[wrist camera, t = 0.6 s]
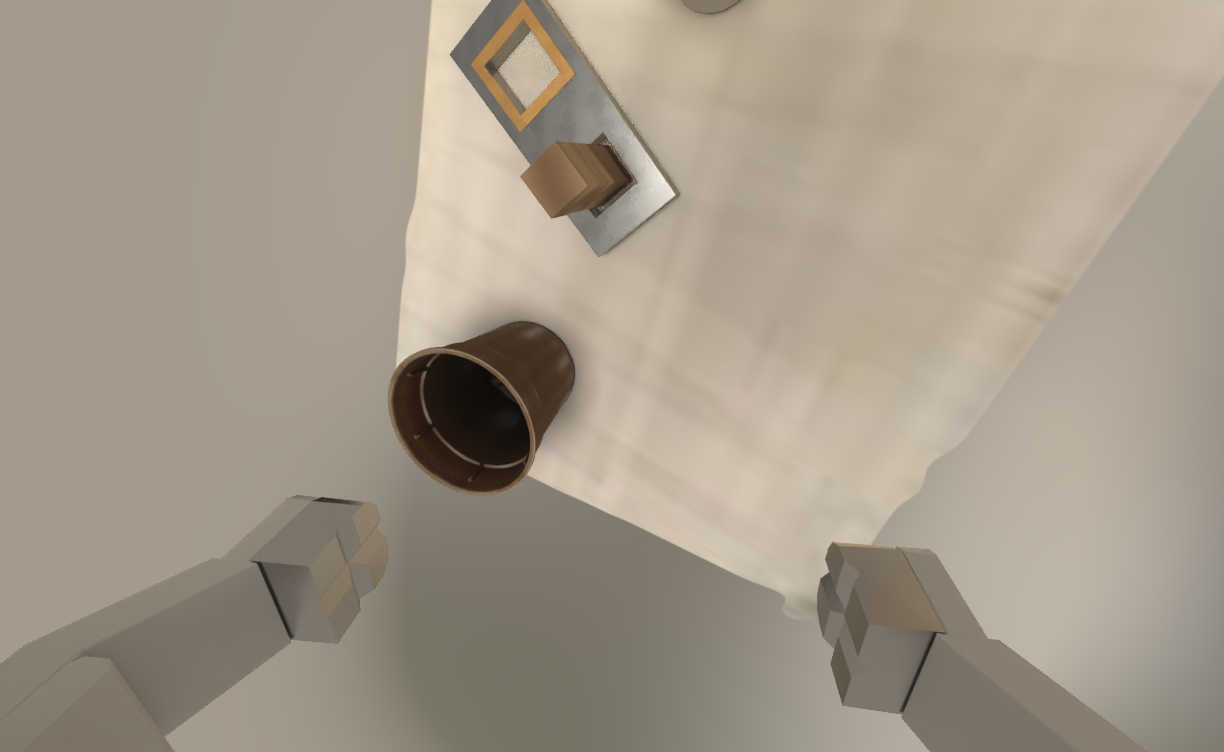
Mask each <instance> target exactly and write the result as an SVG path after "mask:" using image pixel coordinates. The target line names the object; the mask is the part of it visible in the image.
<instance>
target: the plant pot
mask: <svg viewBox="0 0 1224 752" xmlns="http://www.w3.org/2000/svg"><path fill="white" fill-rule="evenodd" d="M573 383H574V365H573V361H572V359H571V358H570V357H569V355H568V353H567V350H566V348H565V345H564V344H563V342H562V341H561V340H560V339H559V338H558V337H557V336H556V335H555V334H554V333H552V332H551V331H549V330H548V329H546V328H544V327H542V326H540V325H538V324H535V323H531V322H523V321H519V322H513V323H509V324H506V325H504V326H501V327H500V328H497V329H495V330H492V331H490V332H488V333H485V334H483V335H480V336H478V337H475V338H473V339H470V340H468V341H465V342H463V343H455V344H450V345H447V346H445V347H435V348H429V349H424V350H422V351H419V352H416V353H414V354H412V355H411V356H409V357H408V358H406V359H405V360H404V361H403V362H402V363H401V364H400V365H399V366H398V367H397V369H396V370H395V372H394V374H393V376H392V378H391V381H390V385H389V390H388V410H389V415H390V419H391V423H392V426H393V429H394V431H395V433H396V436H397V438H398V440H399V442H400V444H401V445H402V447H403V449H404V450H405V452H406V453H407V454H408V455H409V457H410V458H411V459H412V460H413V461H414V463H415V464H416V465H417V466H418V467H419V468H420V469H422V470H423V471H424V472H425V473H426V474H427V475H428V476H430V477H431V478H432V479H434V480H435V481H437V482H438V483H440V484H442V485H444V486H446V487H448V488H450V489H452V490H454V491H457V492H460V493H463V494H467V495H472V496H493V495H498V494H502V493H504V492H507V491H509V490H511V489H513V488H514V487H516V486H517V485H518V484H519V483H520V482H521V481H522V480H523V479H524V478H525V476H526V475H527V474H528V472H529V470H530V468H531V466H532V464H533V461H534V458H535V453H536V451H537V449H538V448H539V446H540V443H541V441H542V438H543V435H544V433H545V431H546V430H547V428H548V427H549V425H550V423H551V422H552V420H553V419H554V417H555V416H556V414H557V413H558V411H559V410H560V408H561V407H562V405H563V404H564V402H565V401H566V399H567V398H568V396H569V394H570V393H571V390H572V387H573Z"/></svg>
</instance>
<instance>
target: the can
mask: <svg viewBox="0 0 1224 752" xmlns="http://www.w3.org/2000/svg"><path fill="white" fill-rule="evenodd" d="M738 1H739V0H682V2H683V3H684V4H685V5H686V6H688V7H689V8H691V9H693V10H694V11H696V12H702V13H709V14H711V13H715V12H719V11H723V10H725V9H727V8H729V7H730V6H732V5H733V4H735V3H737V2H738Z"/></svg>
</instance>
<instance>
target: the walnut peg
mask: <svg viewBox="0 0 1224 752" xmlns="http://www.w3.org/2000/svg"><path fill="white" fill-rule="evenodd" d="M520 177H521V178H522V180H523V181H524V182H525V184H526V185H527V186H528V188H529V189H530V190H531V192H532V193H533V194H534V196H535V197H536V198H537V200H538V201H539V203H540V204H541V205H542V207H543V208H544V209H545V211H546V212H547V213H548V215H549V216H550V217H551V219H552V218H556V217H560V216H563V215H567V214H571V213H575V212H579V211H583V210H586V209H590V208H594V207H598V206H602V205H604V204H605V203H607V202H608V201H609V200H610V199H611V198H612V197H613V196H615V195H616V194H617V193H618V192H619V191H620V190H622V189H623V188H624V187H625V186H626V185H627V184H628V183H630V182H631V181H632V180H633V179H632V178H631V176H630V175H629V173H628V172H627V170H626V169H625V168H624V166H623V165H622V163H621V162H620V161H619V159H618V158H617V156H616V155H615V153H614V152H613V151H612V149H611V148H610V146H606V145H595V144H584V143H573V142H563V141H555V142H554V143H553V144H552V145H551V146H550V147H549V148H548V149H547V150H546V151H545V152H544V153H543V154H542V155H541V156H540V157H539V158H538V159H537V160H536V161H535V162H534V163H533V164H532V165H531V166H530V167H529V168H528V169H527V170H526V171H525V172H524V173H523V174H522V175H521V176H520Z"/></svg>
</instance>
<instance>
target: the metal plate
mask: <svg viewBox="0 0 1224 752" xmlns="http://www.w3.org/2000/svg"><path fill="white" fill-rule="evenodd" d="M530 30H531V31H532V32H533V34H534V35H535V36H536V38H537V39H538V41H539V42H540V44H541V45H542V46H543V48H544V49H545V51H546V52H547V54H548V55H549V56H550V58H551V59H552V61H553V62H554V64H555V65H556V66H557V68H558V69H559V71H560V72H561V73H560V74H559V75H558V76H557V77H556V78H555V79H554V80H553V81H552V83H551V84H550V85H549V86H548V87H547V88H546V89H545V90H544V91H543V92H542V93H541V94H540V96H539V97H538V98H537V99H536V100H535V101H534V102H533V103H532V104H531V105H530V106H529V107H528V109H527V110H526V109H525V108H524V107H523V105H522V104H521V103H520V101H519V100H518V98H517V97H516V96H515V94H514V93H513V91H512V90H511V89H510V87H509V86H508V85H507V83H506V82H505V80H504V79H503V78H502V76H501V75H500V73H499V72H498V71H497V70H498V68H499V67H500V66H501V65H502V64H503V62H504V61H505V60H506V59H507V58H508V57H509V55H510V54H511V53H512V52H513V51H514V49H515V48H516V47H517V46H518V45H519V43H520V42H521V41H522V40H523V39H524V38H525V36H526V35H527V34H528V33H529V32H530ZM450 56H451V57H452V58H453V60H454V61H455V62H456V64H457V65H458V67H459V68H460V69H461V71H462V72H463V73H464V75H465V76H466V77H467V79H468V80H469V82H470V83H471V84H472V86H473V87H474V88H475V90H476V91H477V92H478V94H479V95H480V97H481V98H482V99H483V101H484V102H485V103H486V105H487V106H488V107H489V109H490V110H491V112H492V113H493V114H494V116H495V117H496V118H497V120H498V121H499V122H500V124H501V125H502V127H503V128H504V129H505V131H506V132H507V133H508V135H509V136H510V137H511V139H512V140H513V141H514V143H515V144H516V146H517V147H518V148H519V150H520V151H521V152H522V154H523V155H524V156H525V158H526V159H527V161H528V162H529V163H530V165H532V164H533V163H534V162H535V161H536V160H537V159H538V158H539V157H540V156H541V155H542V154H543V153H544V152H545V151H546V150H547V149H548V148H549V147H550V146H551V145H552V144H553V143H554V142H555V141H563V142H573V143H584V144H595V145H598V144H600V143H601V142H602V141H603V140H604V139H605V138H606V137H607V138H608V140H609V141H610V143H611V144H612V146H613V147H614V148H615V150H616V151H617V153H618V154H619V156H620V157H621V158H622V160H623V161H624V163H625V164H626V165H627V167H628V168H629V170H630V171H631V173H632V174H633V175H634V177H635V178H636V180H637V181H638V182H637V183H636V184H635V185H634V186H633V187H632V188H630V189H629V190H628V191H627V192H626V193H625V194H623V195H622V196H621V197H620V198H619V199H618V200H616V201H615V202H614V203H613V204H612V205H611V206H609V207H608V208H607V209H606V210H605V211H604V212H602V213H600V212H599V211H598V209H597V208H596V207H594V208H590V209H586V210H583V211H579V212H575V213H571V214H567V215H568V216H569V218H570V219H571V220H572V222H573V223H574V225H575V226H576V227H577V229H578V230H579V231H580V233H581V234H582V235H583V237H584V238H585V240H586V241H587V242H588V244H589V245H590V246H591V248H592V249H593V250H594V252H595V253H596V255H597V256H598V257H600V256H602V255H603V254H605V253H607V252H608V251H609V250H610V249H611V248H613V247H614V246H615V245H616V244H618V243H619V242H620V241H621V240H623V239H624V238H625V237H626V236H628V235H629V234H630V233H631V232H633V231H634V230H635V229H636V228H638V227H639V226H640V225H641V224H643V223H644V222H645V221H646V220H648V219H649V218H650V217H651V216H653V215H654V214H655V213H656V212H658V211H659V210H660V209H661V208H662V207H664V206H665V205H666V204H667V203H669V202H670V201H671V200H672V199H674V198H675V197H676V196H677V195H679V194H680V193H679V192H678V190H677V189H676V187H675V186H674V184H673V183H672V182H671V180H670V179H669V177H668V176H667V174H666V173H665V171H664V170H663V168H662V167H661V166H660V164H659V163H658V161H657V160H656V158H655V157H654V155H653V154H652V152H651V151H650V150H649V148H648V147H647V145H646V144H645V142H644V141H643V139H642V138H641V137H640V135H639V134H638V132H637V131H636V129H635V128H634V126H633V125H632V123H631V122H630V121H629V119H628V118H627V116H626V115H625V113H624V112H623V110H622V109H621V107H620V106H619V105H618V103H617V102H616V100H615V99H614V97H613V96H612V94H611V93H610V91H609V90H608V89H607V87H606V86H605V84H604V83H603V81H602V80H601V78H600V77H599V76H598V74H597V73H596V71H595V70H594V68H593V67H592V65H591V64H590V62H589V61H588V60H587V58H586V57H585V55H584V54H583V52H582V51H581V49H580V48H579V46H578V45H577V44H576V42H575V41H574V39H573V38H572V36H571V35H570V33H569V32H568V30H567V29H566V28H565V26H564V25H563V23H562V22H561V20H560V19H559V17H558V16H557V15H556V13H555V12H554V10H553V9H552V7H551V6H550V4H549V3H548V1H547V0H491V2H490V3H489V4H488V5H487V7H486V8H485V9H484V11H483V12H482V13H481V15H480V16H479V17H478V18H477V20H476V21H475V22H474V24H473V25H472V26H471V27H470V29H469V30H468V31H467V33H466V34H465V35H464V37H463V38H462V39H461V40H460V42H459V43H458V44H457V46H456V47H455V48H454V50H453V51H452V52H451V53H450Z"/></svg>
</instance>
